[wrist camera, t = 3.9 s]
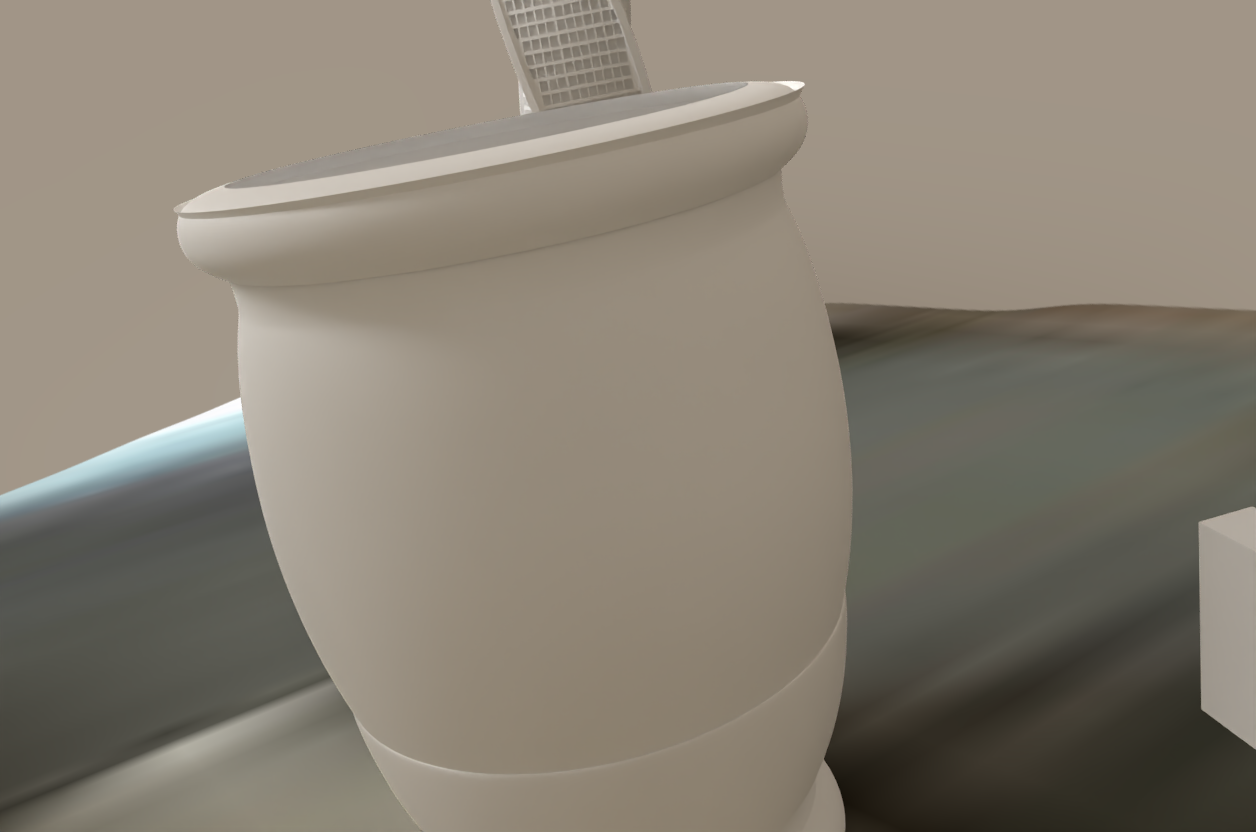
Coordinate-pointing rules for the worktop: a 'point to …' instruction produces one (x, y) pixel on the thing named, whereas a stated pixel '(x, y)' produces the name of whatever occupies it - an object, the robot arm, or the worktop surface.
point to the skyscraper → (571, 51)
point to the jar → (557, 458)
